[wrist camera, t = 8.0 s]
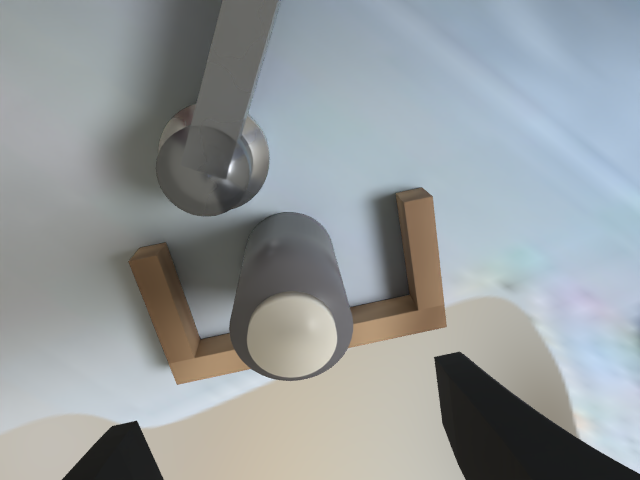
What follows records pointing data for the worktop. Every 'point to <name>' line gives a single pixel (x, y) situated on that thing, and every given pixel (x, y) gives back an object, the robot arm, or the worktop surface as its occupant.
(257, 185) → the grey metal disc
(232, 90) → the grey long bar
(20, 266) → the worktop surface
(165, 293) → the tan wooden u-shaped piece
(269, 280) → the plug
